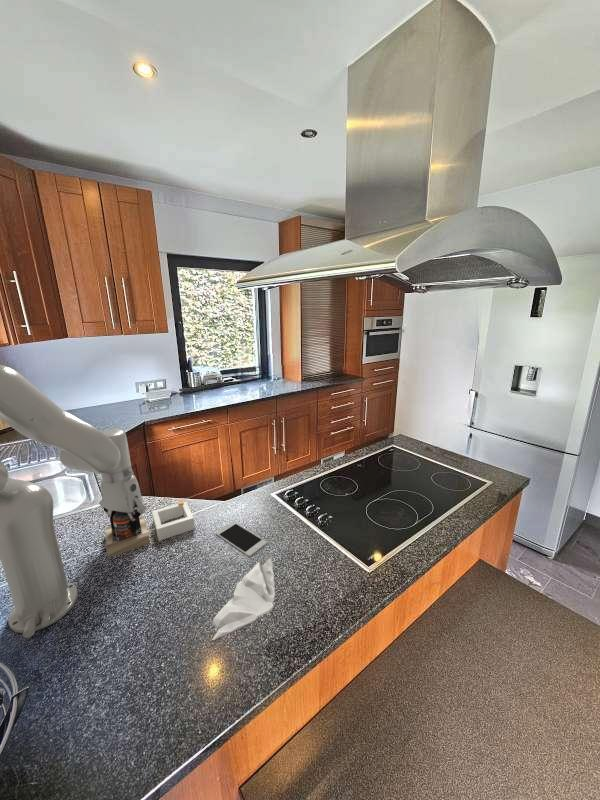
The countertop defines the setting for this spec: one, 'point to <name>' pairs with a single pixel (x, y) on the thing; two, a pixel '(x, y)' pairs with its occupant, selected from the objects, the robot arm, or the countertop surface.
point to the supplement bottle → (122, 526)
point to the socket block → (175, 526)
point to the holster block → (126, 540)
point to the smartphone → (241, 538)
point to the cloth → (248, 600)
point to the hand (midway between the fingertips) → (126, 527)
